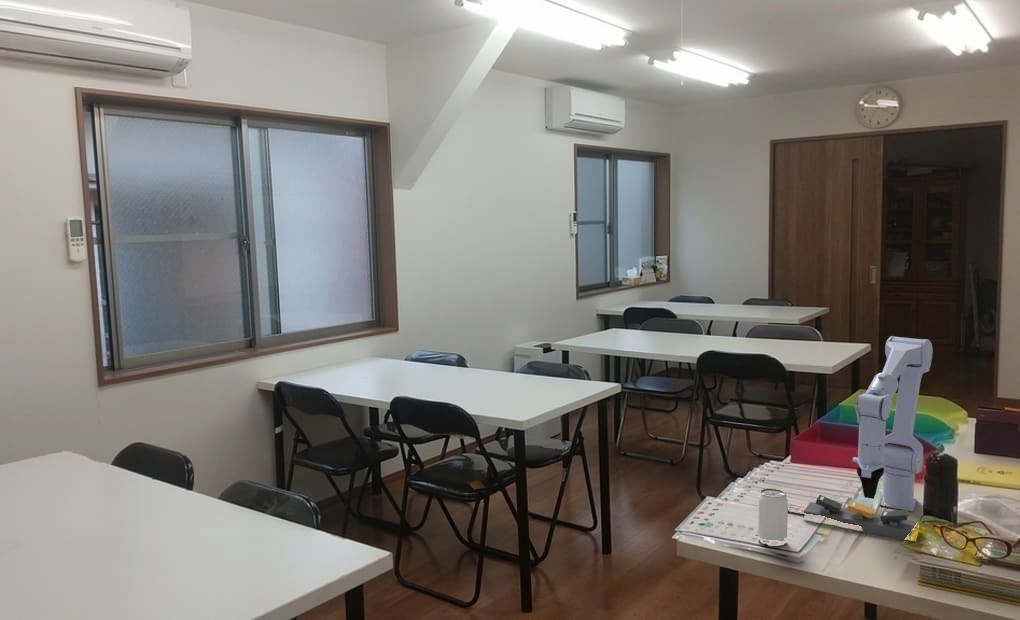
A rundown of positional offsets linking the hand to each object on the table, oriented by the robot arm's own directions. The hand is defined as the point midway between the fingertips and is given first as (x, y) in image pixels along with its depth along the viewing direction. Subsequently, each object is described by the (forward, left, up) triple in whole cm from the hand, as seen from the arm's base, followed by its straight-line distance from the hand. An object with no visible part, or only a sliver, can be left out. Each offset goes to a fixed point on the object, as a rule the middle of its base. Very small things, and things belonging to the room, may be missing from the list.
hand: (869, 497), depth 182 cm
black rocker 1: (0, -9, -4) cm, 10 cm away
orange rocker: (0, -2, -4) cm, 4 cm away
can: (+20, -18, -8) cm, 28 cm away
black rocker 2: (0, +6, -4) cm, 7 cm away
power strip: (0, -4, -8) cm, 9 cm away
